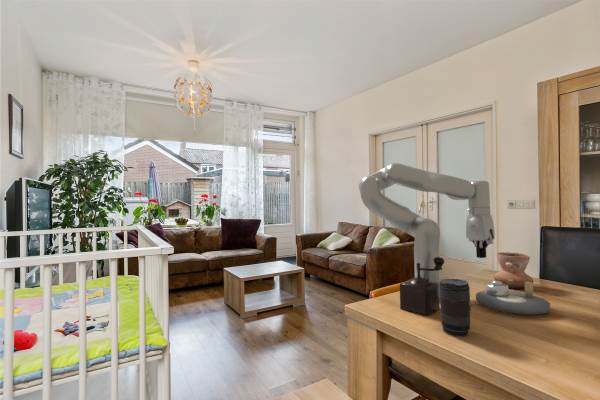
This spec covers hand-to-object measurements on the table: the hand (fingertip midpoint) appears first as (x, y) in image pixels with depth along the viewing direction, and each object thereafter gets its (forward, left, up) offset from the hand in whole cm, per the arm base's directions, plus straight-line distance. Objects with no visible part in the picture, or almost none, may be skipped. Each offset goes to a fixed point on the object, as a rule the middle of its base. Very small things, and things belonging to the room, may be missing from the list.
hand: (481, 257), depth 124 cm
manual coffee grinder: (-29, -3, -16) cm, 34 cm away
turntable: (0, -13, -14) cm, 19 cm away
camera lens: (-34, -24, -16) cm, 45 cm away
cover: (0, -7, -13) cm, 15 cm away
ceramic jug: (+26, +8, -16) cm, 31 cm away
